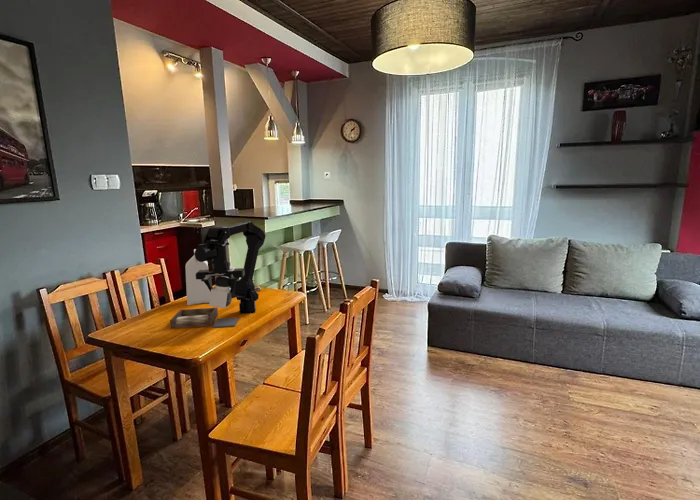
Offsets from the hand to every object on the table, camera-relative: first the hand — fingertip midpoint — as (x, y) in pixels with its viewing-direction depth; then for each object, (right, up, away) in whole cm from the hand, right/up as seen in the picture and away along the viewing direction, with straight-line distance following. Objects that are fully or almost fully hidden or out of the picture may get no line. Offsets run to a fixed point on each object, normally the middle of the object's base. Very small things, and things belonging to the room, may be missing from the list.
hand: (222, 293), depth 156 cm
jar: (-11, -6, +43) cm, 45 cm away
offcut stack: (-13, -13, +1) cm, 18 cm away
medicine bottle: (-1, -5, +1) cm, 5 cm away
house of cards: (+1, -4, +53) cm, 53 cm away
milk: (-23, -8, +35) cm, 42 cm away
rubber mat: (+1, -13, +2) cm, 13 cm away
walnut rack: (-13, -12, +5) cm, 19 cm away
